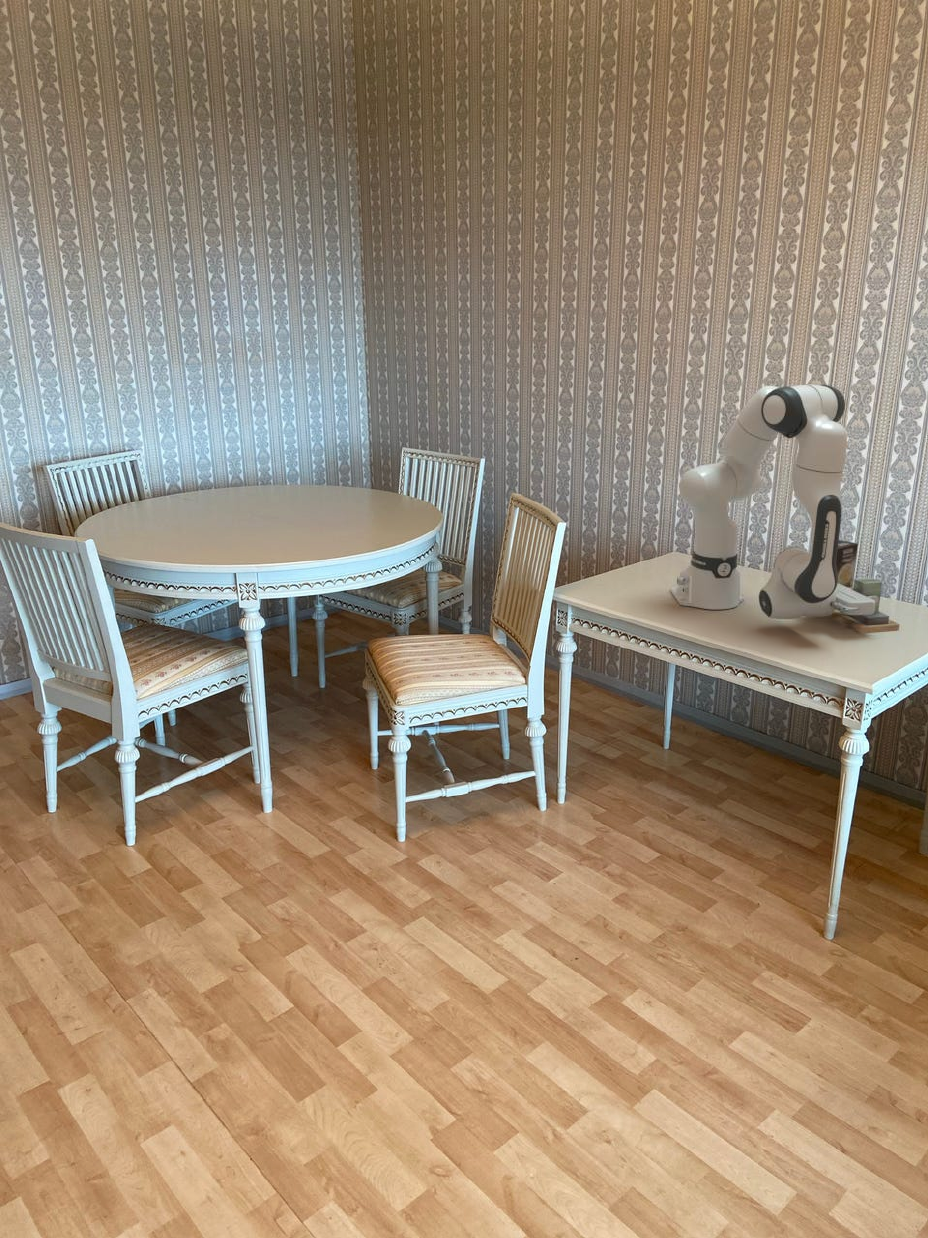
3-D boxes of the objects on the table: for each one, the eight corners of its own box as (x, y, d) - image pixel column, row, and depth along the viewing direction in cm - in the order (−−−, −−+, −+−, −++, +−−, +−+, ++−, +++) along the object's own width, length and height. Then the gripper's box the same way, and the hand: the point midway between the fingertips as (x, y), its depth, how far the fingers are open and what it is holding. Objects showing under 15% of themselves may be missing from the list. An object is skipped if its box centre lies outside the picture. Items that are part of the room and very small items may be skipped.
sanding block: (839, 611, 259) (844, 575, 256) (860, 609, 260) (864, 573, 257) (867, 625, 248) (872, 587, 245) (888, 623, 249) (893, 586, 246)
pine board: (814, 608, 267) (815, 603, 266) (851, 606, 269) (852, 600, 268) (859, 633, 247) (860, 627, 246) (898, 629, 249) (899, 624, 249)
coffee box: (832, 604, 270) (838, 548, 265) (812, 599, 275) (818, 543, 270) (852, 598, 275) (858, 543, 270) (831, 593, 280) (837, 538, 275)
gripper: (845, 598, 239) (896, 594, 242) (801, 576, 258) (848, 573, 261) (842, 623, 241) (892, 619, 244) (799, 599, 260) (846, 596, 263)
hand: (869, 595), depth 252 cm, fingers closed on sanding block, 4 cm apart
